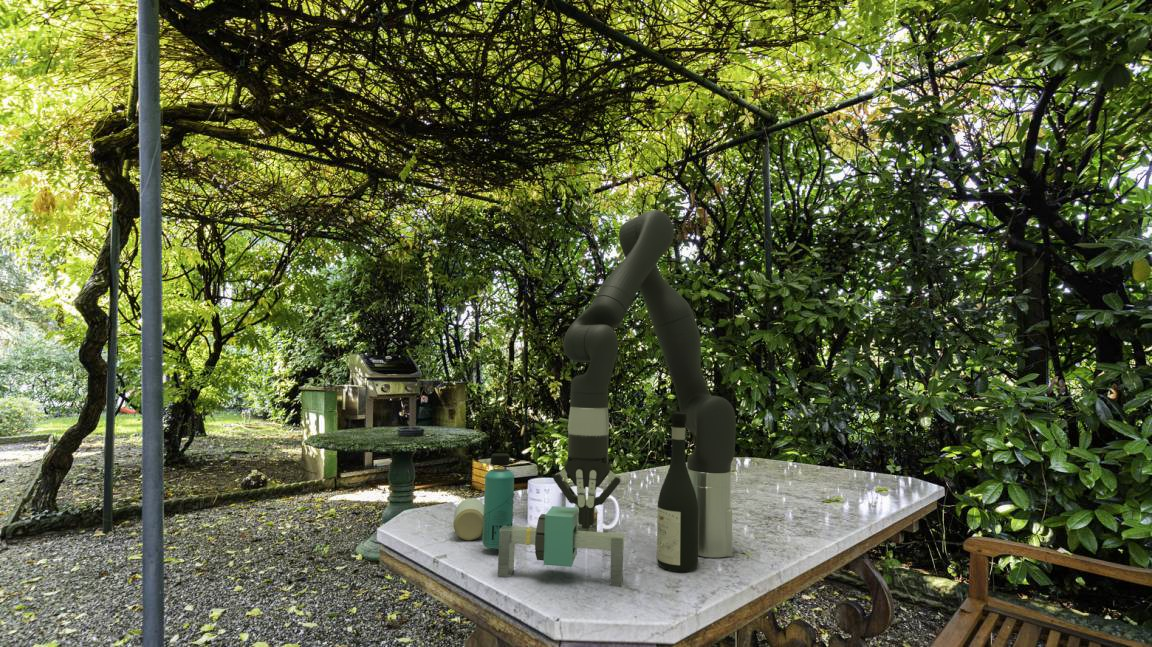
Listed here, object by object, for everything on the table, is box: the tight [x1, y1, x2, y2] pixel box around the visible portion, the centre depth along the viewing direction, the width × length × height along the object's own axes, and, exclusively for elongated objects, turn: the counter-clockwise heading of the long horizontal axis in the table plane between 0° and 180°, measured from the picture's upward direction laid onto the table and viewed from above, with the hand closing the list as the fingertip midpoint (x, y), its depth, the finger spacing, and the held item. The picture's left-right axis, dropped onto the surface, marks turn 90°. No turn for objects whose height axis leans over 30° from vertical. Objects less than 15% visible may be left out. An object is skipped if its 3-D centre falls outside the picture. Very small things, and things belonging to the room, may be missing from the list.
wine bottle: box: [656, 412, 699, 573], centre depth 112 cm, size 8×8×30 cm
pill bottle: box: [573, 494, 598, 532], centre depth 125 cm, size 6×6×10 cm
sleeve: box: [543, 505, 578, 568], centre depth 103 cm, size 5×7×9 cm
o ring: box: [534, 513, 547, 561], centre depth 104 cm, size 2×8×8 cm, turn 172°
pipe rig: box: [497, 525, 625, 587], centre depth 103 cm, size 23×4×8 cm, turn 82°
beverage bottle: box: [481, 452, 516, 549], centre depth 118 cm, size 6×7×20 cm
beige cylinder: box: [453, 498, 484, 541], centre depth 127 cm, size 11×8×8 cm
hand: (586, 527), depth 103 cm, fingers closed
